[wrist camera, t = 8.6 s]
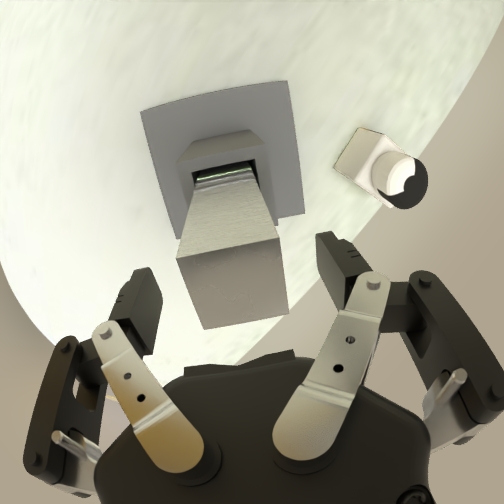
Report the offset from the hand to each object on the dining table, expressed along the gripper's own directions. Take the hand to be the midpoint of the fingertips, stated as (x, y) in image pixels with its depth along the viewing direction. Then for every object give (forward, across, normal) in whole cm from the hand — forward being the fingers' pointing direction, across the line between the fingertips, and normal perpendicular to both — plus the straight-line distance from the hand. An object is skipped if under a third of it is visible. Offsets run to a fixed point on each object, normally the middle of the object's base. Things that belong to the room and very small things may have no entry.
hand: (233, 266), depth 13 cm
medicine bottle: (+25, -19, +3) cm, 32 cm away
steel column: (+17, 0, 0) cm, 17 cm away
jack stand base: (+25, 0, 0) cm, 25 cm away
